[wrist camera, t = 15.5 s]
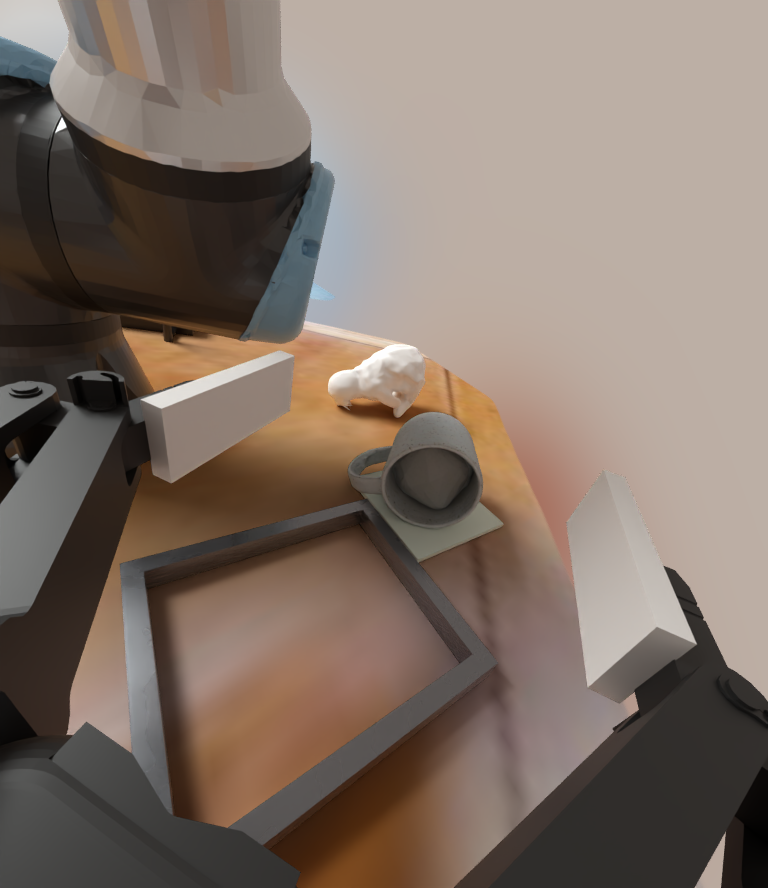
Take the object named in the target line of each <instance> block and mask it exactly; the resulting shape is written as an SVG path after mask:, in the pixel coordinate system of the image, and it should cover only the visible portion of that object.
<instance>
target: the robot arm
mask: <svg viewBox="0 0 768 888" xmlns="http://www.w3.org/2000/svg"><path fill="white" fill-rule="evenodd" d="M58 2H59V5H60V8H61V10H62V13H63V16H64V19H65V21H66V24H67V27H68V30H69V37H68V43H67V45H66V47H65V49H64V51H63V52H62V54H61V56H60V58H59V60H58V62H57V61H55V60H54V59H52V58H50V57H48V56H46V55H44V54H42V53H40V52H38V51H35V50H33V49H31V48H28V47H26V46H23V45H21V44H18V43H16V42H13V41H11V40H8V39H5V38H3V37H0V888H297V887H296V883H297V881H298V878H299V875H300V873H301V872H299V871H298V870H297V869H295V868H294V867H292V866H291V865H289V864H288V863H287V862H285V861H284V860H282V859H281V858H280V857H278V856H277V855H275V854H274V853H272V852H271V851H270V850H268V849H267V848H265V847H264V846H262V845H261V844H260V843H258V842H257V841H255V840H254V839H253V838H251V837H250V836H248V835H247V834H245V833H244V832H243V831H239V830H235V829H230V828H225V827H221V826H216V825H212V824H207V823H202V822H198V821H193V820H189V819H184V818H179V817H176V816H173V815H171V814H170V813H169V812H168V811H167V810H166V808H165V807H164V805H163V803H162V802H161V800H160V798H159V797H158V795H157V793H156V792H155V790H154V788H153V787H152V785H151V783H150V782H149V780H148V778H147V777H146V775H145V773H144V772H143V770H142V768H141V767H140V765H139V763H138V762H137V760H136V758H135V757H134V755H133V754H132V753H130V752H129V751H127V750H126V749H124V748H123V747H122V746H120V745H119V744H117V743H116V742H115V741H113V740H112V739H110V738H109V737H107V736H106V735H105V734H103V733H102V732H100V731H99V730H97V729H96V728H95V727H93V726H92V725H90V724H89V723H87V722H86V723H85V724H84V725H83V726H82V727H81V728H80V729H79V730H78V731H77V732H76V733H75V734H74V735H66V734H67V730H68V724H69V717H70V691H71V687H72V683H73V680H74V677H75V674H76V671H77V668H78V665H79V662H80V659H81V656H82V653H83V650H84V647H85V644H86V640H87V637H88V634H89V631H90V628H91V625H92V622H93V619H94V616H95V613H96V610H97V607H98V604H99V601H100V598H101V595H102V592H103V589H104V586H105V583H106V580H107V577H108V574H109V571H110V568H111V565H112V562H113V559H114V556H115V553H116V550H117V547H118V544H119V541H120V538H121V535H122V532H123V529H124V525H125V522H126V519H127V516H128V513H129V510H130V507H131V504H132V501H133V498H134V495H135V492H136V489H137V486H138V483H139V480H140V477H141V466H140V465H141V464H143V463H145V462H147V461H149V460H150V461H151V467H152V473H153V475H155V476H157V477H159V478H161V479H163V480H165V481H167V482H169V483H173V482H175V481H176V480H178V479H179V478H181V477H183V476H184V475H186V474H188V473H189V472H191V471H193V470H194V469H196V468H197V467H199V466H201V465H202V464H204V463H206V462H207V461H209V460H210V459H212V458H214V457H215V456H217V455H219V454H220V453H222V452H223V451H225V450H227V449H228V448H230V447H232V446H233V445H235V444H236V443H238V442H240V441H241V440H243V439H245V438H246V437H248V436H249V435H251V434H253V433H254V432H256V431H258V430H259V429H261V428H263V427H264V426H266V425H267V424H269V423H271V422H272V421H274V420H276V419H277V418H279V417H280V416H282V415H284V414H285V413H287V412H289V411H290V402H291V391H292V379H293V368H294V357H295V356H293V355H291V354H288V353H285V352H283V351H277V352H274V353H271V354H268V355H265V356H263V357H260V358H257V359H254V360H251V361H248V362H245V363H243V364H240V365H237V366H234V367H231V368H228V369H226V370H223V371H220V372H217V373H214V374H211V375H209V376H206V377H203V378H200V379H197V380H192V381H185V382H183V383H180V384H177V385H174V386H173V387H168V388H165V389H163V391H162V390H159V391H157V392H154V390H153V388H152V386H151V384H150V382H149V381H148V379H147V377H146V375H145V373H144V371H143V370H142V368H141V366H140V364H139V362H138V361H137V359H136V357H135V355H134V353H133V352H132V350H131V348H130V346H129V344H128V342H127V341H126V339H125V337H124V335H123V331H122V326H121V321H120V315H121V316H126V317H131V318H136V319H141V320H145V321H150V322H155V323H160V324H165V325H170V326H175V327H180V328H185V329H190V330H195V331H199V332H204V333H209V334H214V335H219V336H224V337H229V338H234V339H238V340H240V341H244V342H245V341H247V340H253V341H261V342H269V343H277V344H283V343H287V342H290V341H292V340H294V339H295V338H296V337H298V336H299V334H300V333H301V331H302V328H303V325H304V320H305V316H306V311H307V307H308V302H309V298H310V293H311V288H312V284H313V279H314V274H315V269H316V265H317V260H318V256H319V251H320V247H321V243H322V238H323V233H324V229H325V225H326V220H327V216H328V211H329V206H330V202H331V197H332V192H333V188H334V182H335V180H334V176H333V174H332V173H331V171H329V170H328V169H325V168H324V167H323V165H322V164H321V163H319V162H315V163H311V161H310V156H311V124H310V120H309V117H308V115H307V113H306V111H305V110H304V108H303V107H302V105H301V104H300V102H299V100H298V99H297V97H296V96H295V94H294V93H293V91H292V90H291V88H290V86H289V85H288V84H287V82H286V80H285V79H284V76H283V72H282V67H281V29H280V28H281V26H280V25H281V24H280V23H281V22H280V0H58ZM566 523H567V530H568V538H569V546H570V554H571V562H572V570H573V578H574V586H575V594H576V601H577V609H578V617H579V625H580V633H581V640H582V648H583V656H584V664H585V672H586V680H587V687H588V688H589V689H591V690H593V691H595V692H597V693H599V694H601V695H603V696H605V697H607V698H610V699H612V700H614V701H616V702H618V703H621V702H622V701H623V700H625V699H626V698H627V697H629V696H630V695H631V694H633V693H634V692H635V695H636V699H637V703H638V707H639V710H638V711H637V712H635V713H634V714H632V715H631V716H629V717H628V718H627V719H625V720H624V721H622V722H621V723H620V724H618V725H617V726H615V727H614V728H613V730H614V732H613V733H612V734H611V735H610V736H609V737H608V738H607V739H606V740H605V741H604V742H603V743H602V744H601V745H600V746H599V747H598V748H597V749H596V750H595V751H594V752H593V753H592V754H591V755H590V756H589V757H588V758H587V759H586V760H584V761H583V762H582V763H581V764H580V765H579V766H578V767H577V768H576V769H575V770H574V771H573V772H572V773H571V774H570V775H569V776H568V777H567V778H566V779H565V780H564V781H563V782H562V783H561V784H560V785H559V786H558V787H557V788H556V789H555V790H554V791H553V792H552V793H551V794H549V795H548V796H547V797H546V798H545V799H544V800H543V801H542V802H541V803H540V804H539V805H538V806H537V807H536V808H535V809H534V810H533V811H532V812H531V813H530V814H529V815H528V816H527V817H526V818H525V819H524V820H523V821H522V822H521V823H520V824H519V825H518V826H517V827H516V828H515V829H513V830H512V831H511V832H510V833H509V834H508V835H507V836H506V837H505V838H504V839H503V840H502V841H501V842H500V843H499V844H498V845H497V846H496V847H495V848H494V849H493V850H492V851H491V852H490V853H489V854H488V855H487V856H486V857H485V858H484V859H483V860H482V861H481V862H480V863H479V864H477V865H476V866H475V867H474V868H473V869H472V870H471V871H470V872H469V873H468V874H467V875H466V876H465V877H464V878H463V879H462V880H461V881H460V882H459V883H458V884H457V885H456V886H455V887H454V888H694V887H695V886H696V884H697V882H698V880H699V878H700V877H701V875H702V873H703V871H704V869H705V868H706V866H707V864H708V862H709V860H710V859H711V856H712V855H713V853H714V851H715V850H716V848H717V846H718V844H719V843H720V841H721V839H722V837H723V835H724V834H725V832H726V837H725V849H724V860H723V872H722V883H721V888H768V701H767V700H766V699H765V697H764V696H763V695H762V694H761V693H760V692H759V691H758V690H757V689H756V688H755V687H754V686H753V685H752V684H751V683H750V682H749V681H747V680H746V679H745V678H743V677H742V676H741V675H739V674H738V673H737V672H735V671H734V670H731V669H730V668H728V667H727V665H726V663H725V661H724V659H723V656H722V654H721V652H720V650H719V648H718V646H717V644H716V642H715V640H714V638H713V636H712V634H711V632H710V629H709V628H708V625H707V623H706V621H704V620H703V618H704V617H703V615H702V613H701V611H700V609H699V607H697V602H696V600H695V598H694V596H693V594H692V592H691V590H690V588H689V586H688V585H687V584H686V583H685V582H684V581H683V580H682V578H681V577H680V576H679V575H678V574H677V572H676V571H675V570H673V569H670V568H668V567H665V566H663V564H662V562H661V560H660V557H659V555H658V553H657V550H656V548H655V545H654V543H653V541H652V539H651V536H650V534H649V532H648V529H647V527H646V524H645V522H644V520H643V517H642V515H641V513H640V511H639V508H638V506H637V503H636V501H635V499H634V496H633V494H632V492H631V489H630V487H629V485H628V482H627V480H626V478H625V477H623V476H621V475H618V474H615V473H612V472H609V471H607V470H603V471H602V472H601V473H600V475H599V476H598V478H597V480H596V481H595V482H594V484H593V485H592V487H591V488H590V490H589V491H588V492H587V494H586V495H585V497H584V498H583V499H582V501H581V502H580V504H579V505H578V507H577V508H576V509H575V511H574V512H573V514H572V515H571V517H570V518H569V520H568V521H567V522H566Z"/></svg>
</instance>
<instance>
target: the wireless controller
mask: <svg viewBox="0 0 768 888" xmlns="http://www.w3.org/2000/svg"><path fill="white" fill-rule="evenodd" d="M120 321H121V326H122V327H127V328H135V329H143V330H151V331H159V332H163V335H164V341H166V342H173V336H174V335H175V333H177V334H183V335H187V334H188V335H191V336H193V334H194V332H195V330H190V329H185V328H180V327H175V326H170V325H165V324H160V323H155V322H150V321H145V320H141V319H136V318H131V317H126V316H121V315H120Z"/></svg>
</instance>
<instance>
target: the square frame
mask: <svg viewBox="0 0 768 888" xmlns="http://www.w3.org/2000/svg"><path fill="white" fill-rule="evenodd" d="M357 524H360V525H361V527H362V528H363V530H364V531H365V532H366V534H367V535H368V536H369V538H370V539H371V541H372V542H373V543H374V545H375V546H376V548H377V549H378V550H379V552H380V553H381V554H382V556H383V557H384V559H385V560H386V561H387V563H388V564H389V566H390V567H391V568H392V570H393V571H394V572H395V574H396V575H397V577H398V578H399V579H400V581H401V582H402V584H403V585H404V586H405V588H406V589H407V591H408V592H409V593H410V595H411V596H412V597H413V599H414V600H415V602H416V603H417V604H418V606H419V607H420V609H421V610H422V611H423V613H424V614H425V615H426V617H427V618H428V620H429V621H430V622H431V624H432V625H433V627H434V628H435V629H436V631H437V632H438V633H439V635H440V636H441V638H442V639H443V640H444V642H445V643H446V645H447V646H448V647H449V649H450V650H451V651H452V653H453V654H454V656H455V657H456V658H457V660H458V661H459V663H460V664H459V665H457V666H456V667H454V668H453V669H452V670H450V671H449V672H447V673H446V674H444V675H443V676H442V677H440V678H439V679H437V680H436V681H435V682H433V683H432V684H430V685H429V686H427V687H426V688H425V689H423V690H422V691H420V692H419V693H418V694H416V695H415V696H413V697H412V698H410V699H409V700H408V701H406V702H405V703H403V704H402V705H401V706H399V707H398V708H396V709H395V710H394V711H392V712H391V713H389V714H388V715H386V716H385V717H384V718H382V719H381V720H379V721H378V722H377V723H375V724H374V725H372V726H371V727H369V728H368V729H367V730H365V731H364V732H362V733H361V734H360V735H358V736H357V737H355V738H354V739H353V740H351V741H350V742H348V743H347V744H345V745H344V746H343V747H341V748H340V749H338V750H337V751H336V752H334V753H333V754H331V755H330V756H328V757H327V758H326V759H324V760H323V761H321V762H320V763H319V764H317V765H316V766H314V767H313V768H312V769H310V770H309V771H307V772H306V773H304V774H303V775H302V776H300V777H299V778H297V779H296V780H295V781H293V782H292V783H290V784H289V785H287V786H286V787H285V788H283V789H282V790H280V791H279V792H278V793H276V794H275V795H273V796H272V797H271V798H269V799H268V800H266V801H265V802H263V803H262V804H261V805H259V806H258V807H256V808H255V809H254V810H252V811H251V812H249V813H248V814H246V815H245V816H244V817H242V818H241V819H239V820H238V821H237V822H235V823H234V824H232V825H231V826H230V827H228V828H230V829H235V830H239V831H243V832H244V833H245V834H247V835H248V836H250V837H251V838H253V839H254V840H255V841H257V842H258V843H260V844H261V845H262V846H264V847H265V848H267V849H268V850H269V849H270V848H271V847H273V846H274V845H275V844H276V843H278V842H279V841H280V840H281V839H283V838H284V837H285V836H287V835H288V834H289V833H290V832H292V831H293V830H294V829H295V828H297V827H298V826H299V825H300V824H302V823H303V822H304V821H306V820H307V819H308V818H309V817H311V816H312V815H313V814H314V813H316V812H317V811H318V810H319V809H321V808H322V807H323V806H325V805H326V804H327V803H328V802H330V801H331V800H332V799H333V798H335V797H336V796H337V795H338V794H340V793H341V792H342V791H344V790H345V789H346V788H347V787H349V786H350V785H351V784H352V783H354V782H355V781H356V780H357V779H359V778H360V777H361V776H363V775H364V774H365V773H366V772H368V771H369V770H370V769H371V768H373V767H374V766H375V765H376V764H378V763H379V762H380V761H382V760H383V759H384V758H385V757H387V756H388V755H389V754H390V753H392V752H393V751H394V750H395V749H397V748H398V747H399V746H401V745H402V744H403V743H404V742H406V741H407V740H408V739H409V738H411V737H412V736H413V735H414V734H416V733H417V732H418V731H420V730H421V729H422V728H423V727H425V726H426V725H427V724H428V723H430V722H431V721H432V720H433V719H435V718H436V717H437V716H439V715H440V714H441V713H442V712H444V711H445V710H446V709H447V708H449V707H450V706H451V705H452V704H454V703H455V702H456V701H458V700H459V699H460V698H461V697H463V696H464V695H465V694H466V693H468V692H469V691H470V690H471V689H473V688H474V687H475V686H477V685H478V684H479V683H480V682H482V681H483V680H484V679H485V678H487V677H488V676H489V674H490V673H491V672H492V670H493V669H494V668H495V666H496V665H497V664H498V662H497V661H496V659H495V658H494V657H493V656H492V654H491V653H490V652H489V651H488V649H487V648H486V647H485V646H484V644H483V643H482V642H481V641H480V639H479V638H478V637H477V636H476V634H475V633H474V632H473V631H472V629H471V628H470V627H469V626H468V624H467V623H466V622H465V621H464V619H463V618H462V617H461V616H460V614H459V613H458V612H457V611H456V609H455V608H454V607H453V606H452V604H451V603H450V602H449V601H448V599H447V598H446V597H445V595H444V594H443V593H442V592H441V590H440V589H439V588H438V587H437V585H436V584H435V583H434V582H433V580H432V579H431V578H430V577H429V575H428V574H427V573H426V572H425V570H424V569H423V568H422V567H421V565H420V564H419V563H418V562H417V560H416V559H415V558H414V557H413V555H412V554H411V553H410V552H409V550H408V549H407V548H406V547H405V545H404V544H403V543H402V542H401V540H400V539H399V538H398V537H397V535H396V534H395V533H394V532H393V530H392V529H391V528H390V527H389V525H388V524H387V523H386V522H385V520H384V519H383V518H382V517H381V515H380V514H379V513H378V511H377V510H376V509H375V508H374V506H373V505H372V504H371V503H370V501H369V500H368V499H363V500H360V501H356V502H352V503H348V504H344V505H341V506H337V507H333V508H329V509H325V510H322V511H318V512H314V513H310V514H307V515H303V516H299V517H295V518H291V519H288V520H284V521H280V522H276V523H272V524H269V525H265V526H261V527H257V528H253V529H250V530H246V531H242V532H238V533H235V534H231V535H227V536H223V537H219V538H216V539H212V540H208V541H204V542H200V543H197V544H193V545H189V546H185V547H181V548H178V549H174V550H170V551H166V552H162V553H159V554H155V555H151V556H147V557H144V558H140V559H136V560H132V561H128V562H125V563H121V564H120V573H121V589H122V605H123V620H124V636H125V652H126V668H127V683H128V699H129V715H130V730H131V746H132V754H133V755H134V757H135V758H136V760H137V762H138V763H139V765H140V767H141V768H142V770H143V772H144V773H145V775H146V777H147V778H148V780H149V782H150V783H151V785H152V787H153V788H154V790H155V792H156V793H157V795H158V797H159V798H160V800H161V802H162V803H163V805H164V807H165V808H166V810H167V811H168V812H169V813H170V814H171V815H173V816H175V810H174V802H173V794H172V786H171V778H170V770H169V762H168V754H167V745H166V737H165V729H164V721H163V713H162V705H161V697H160V689H159V680H158V672H157V664H156V656H155V648H154V640H153V632H152V624H151V615H150V607H149V599H148V591H147V589H149V588H152V587H155V586H158V585H162V584H165V583H168V582H171V581H175V580H178V579H181V578H184V577H188V576H191V575H194V574H197V573H201V572H204V571H207V570H210V569H214V568H217V567H220V566H223V565H227V564H230V563H233V562H236V561H240V560H243V559H246V558H249V557H253V556H256V555H259V554H262V553H266V552H269V551H272V550H275V549H279V548H282V547H285V546H288V545H292V544H295V543H298V542H301V541H305V540H308V539H311V538H314V537H318V536H321V535H324V534H327V533H331V532H334V531H337V530H340V529H344V528H347V527H350V526H353V525H357Z"/></svg>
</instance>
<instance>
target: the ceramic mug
mask: <svg viewBox="0 0 768 888" xmlns="http://www.w3.org/2000/svg"><path fill="white" fill-rule="evenodd" d="M386 461H387V462H386ZM381 462H386V464H385V466H384V469H383V472H382V476H381V477H365V476H360V474H361V472H362V471H363V470H364V469H365V468H366V467H368V466H370V465H373V464H377V463H381ZM348 475H349V478H350V482H351V485H352V486H353V487H354V488H355V489H356V490H357V491H359V492H362V493H367V494H382V496H383V498H384V501H385V502H386V504H387V506H388V507H389V509H390V510H391V511H392V512H393V513H394V514H395V515H396V516H398V517H399V518H401V519H402V520H404V521H406V522H408V523H410V524H413V525H415V526H420V527H424V528H443V527H447V526H452V525H454V524H456V523H458V522H460V521H462V520H463V519H465V518H466V517H467V516H469V515H470V513H471V512H472V511H473V510H474V509H475V508H476V506H477V504H478V502H479V500H480V498H481V495H482V490H483V478H482V473H481V470H480V466H479V463H478V458H477V455H476V452H475V448H474V444H473V440H472V438H471V436H470V434H469V432H468V431H467V429H466V428H465V427H464V426H463V424H461V423H460V422H459V421H458V420H457V419H456V418H454V417H452V416H450V415H448V414H444V413H440V412H426V413H422V414H419V415H417V416H415V417H413V418H411V419H410V420H409V421H407V422H406V423H405V424H404V425H403V426H402V428H401V429H400V430H399V432H398V433H397V435H396V437H395V440H394V442H393V446H388V447H381V448H376V449H372V450H368V451H366V452H364V453H362V454H360V455H359V456H357V457H356V458H355V459H354V460H353V461H352V462H351V463H350V465H349V467H348Z"/></svg>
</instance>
